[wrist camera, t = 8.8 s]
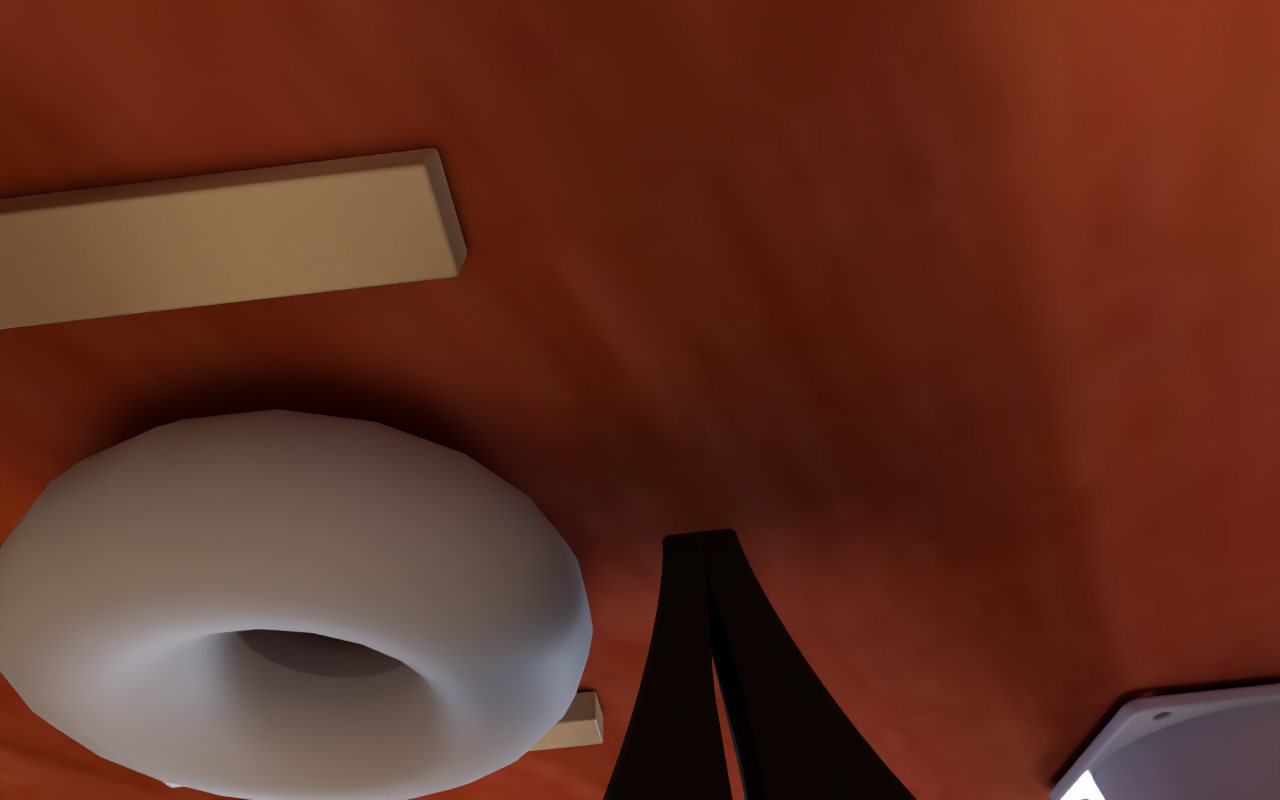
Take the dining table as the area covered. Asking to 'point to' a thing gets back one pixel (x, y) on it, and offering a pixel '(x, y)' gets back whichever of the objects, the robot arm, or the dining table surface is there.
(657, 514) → the dining table surface
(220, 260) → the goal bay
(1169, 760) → the robot arm
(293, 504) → the donut
